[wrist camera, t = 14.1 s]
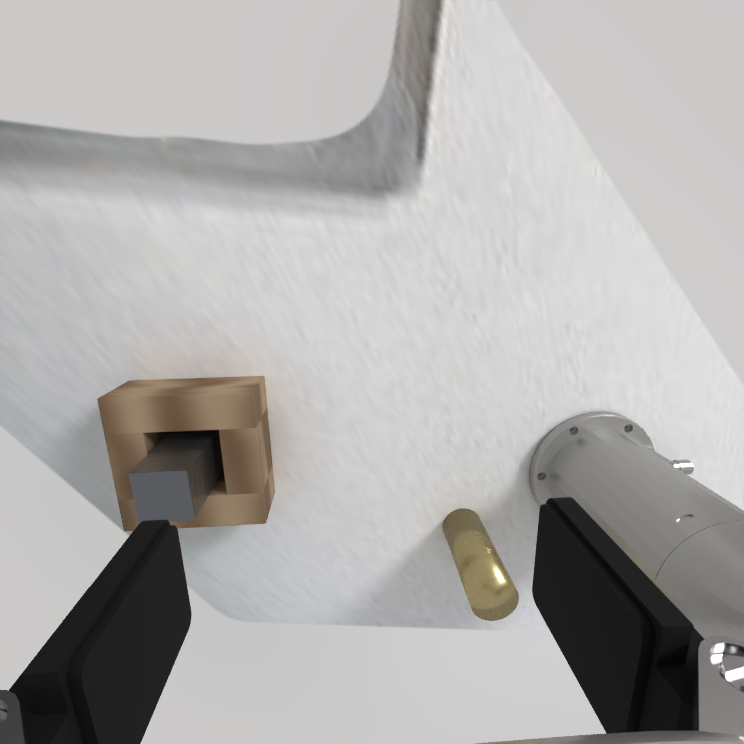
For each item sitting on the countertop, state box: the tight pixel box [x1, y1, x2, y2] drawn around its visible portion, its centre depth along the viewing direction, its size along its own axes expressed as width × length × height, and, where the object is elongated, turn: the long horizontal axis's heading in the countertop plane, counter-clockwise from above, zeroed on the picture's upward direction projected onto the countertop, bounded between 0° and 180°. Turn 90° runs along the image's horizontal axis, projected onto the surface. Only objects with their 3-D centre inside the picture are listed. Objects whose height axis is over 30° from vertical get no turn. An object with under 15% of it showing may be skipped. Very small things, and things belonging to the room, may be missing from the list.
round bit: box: [443, 509, 519, 621], centre depth 39 cm, size 4×4×10 cm
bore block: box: [97, 376, 275, 531], centre depth 37 cm, size 12×12×5 cm
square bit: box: [129, 430, 224, 523], centre depth 35 cm, size 4×4×10 cm
